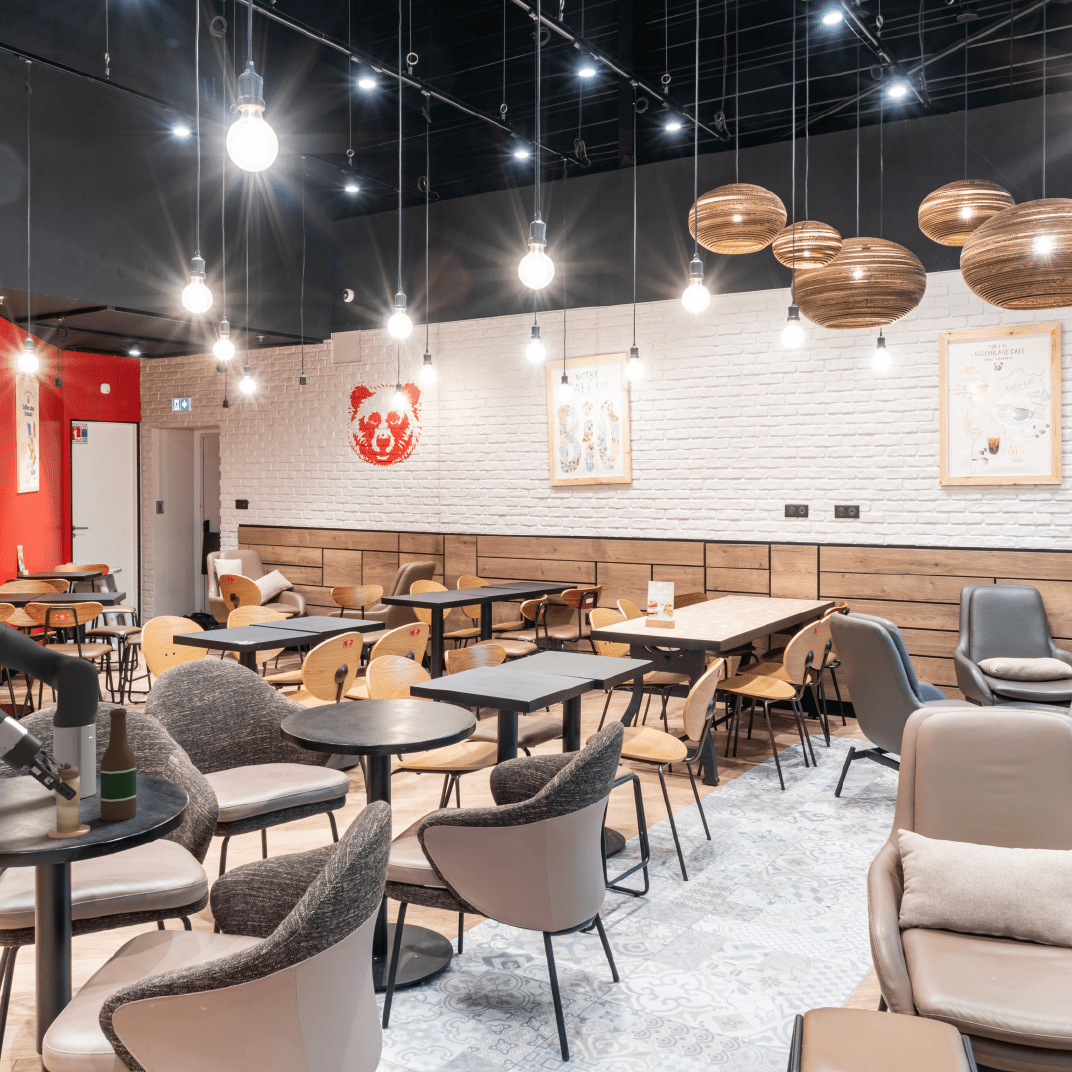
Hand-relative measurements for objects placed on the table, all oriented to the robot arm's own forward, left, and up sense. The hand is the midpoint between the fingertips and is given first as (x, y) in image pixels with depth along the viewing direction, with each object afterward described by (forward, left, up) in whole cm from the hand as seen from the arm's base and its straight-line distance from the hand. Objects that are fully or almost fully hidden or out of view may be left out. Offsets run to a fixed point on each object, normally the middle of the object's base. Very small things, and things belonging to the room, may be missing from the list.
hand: (74, 791), depth 201 cm
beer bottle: (-11, +5, -9) cm, 15 cm away
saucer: (0, -1, -8) cm, 9 cm away
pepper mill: (0, -1, -8) cm, 8 cm away
